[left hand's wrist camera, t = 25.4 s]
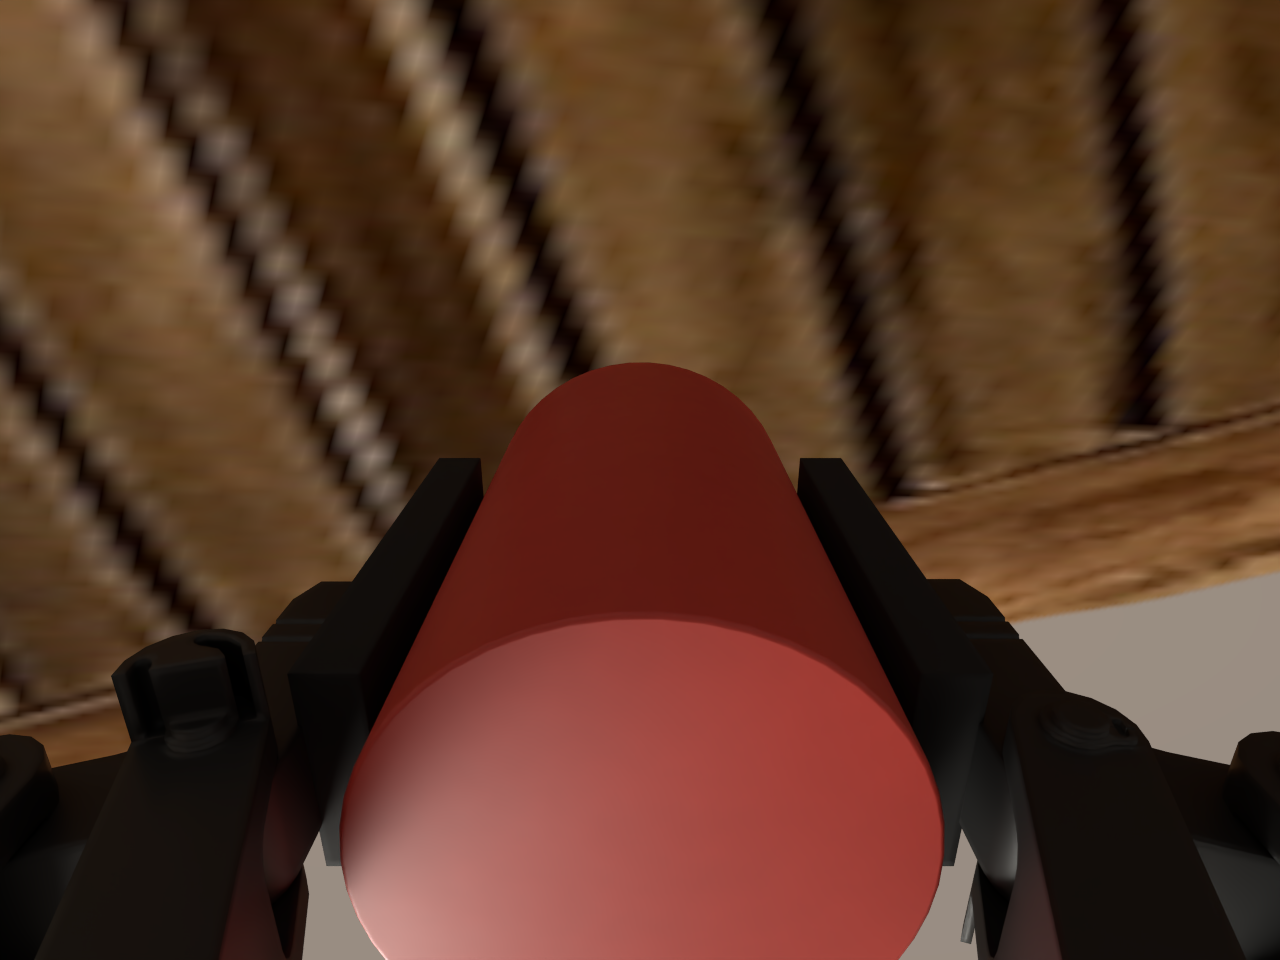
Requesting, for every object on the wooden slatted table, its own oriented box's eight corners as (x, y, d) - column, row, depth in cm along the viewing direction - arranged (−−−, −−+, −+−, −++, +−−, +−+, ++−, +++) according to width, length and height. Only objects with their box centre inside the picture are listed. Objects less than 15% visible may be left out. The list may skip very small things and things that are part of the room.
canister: (624, 298, 14) (601, 478, 6) (840, 486, 16) (1075, 849, 7) (444, 514, 16) (223, 897, 8) (654, 666, 18) (668, 1134, 9)
